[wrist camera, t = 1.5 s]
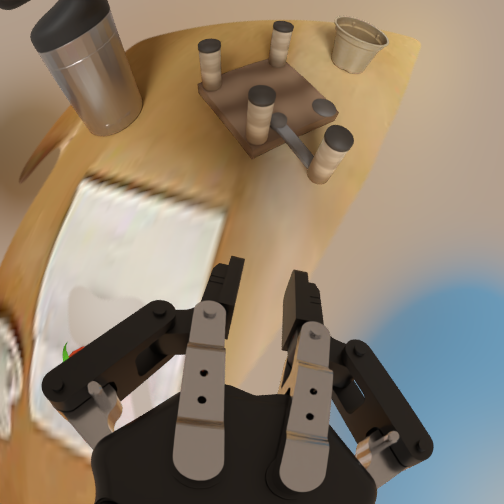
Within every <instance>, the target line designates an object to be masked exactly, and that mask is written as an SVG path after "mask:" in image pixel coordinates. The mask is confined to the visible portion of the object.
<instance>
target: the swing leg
mask: <svg viewBox="0 0 504 504" xmlns="http://www.w3.org/2000/svg"><path fill="white" fill-rule="evenodd" d="M286 123H287V117H286V115H284V114H283V113H279V112H276V113H273V114H272V117H271V122H270V128H271V129H273V130H275V131H277V132H278V134H279V135H280V136H281V137H282V138H283V140H284V141H285V142H286V143H287V144H288V146H289V147H290V148H291V149H292V150H293V152H294V153H295V154H296V155H297V157H298V158H299V159H300V160H301V162H302V163H303V164H304V165H305V167H306V168H307V169H308V170H307V175H308V178H309V179H310V180H311V181H312V182H313V183H315V184H324V183H326V182H327V181H328V179H329V178H330V176H331V175H332V174H333V172H334V171H335V169H336V168H337V166H338V165H339V163H340V162H341V160H342V159H343V157H344V156H345V155H346V153H347V152H348V150H349V149H350V148H351V147H352V145H353V143H354V138H353V136H352V134H351V133H350V131H349V130H347V129H346V128H344V127H342V126H339V125H332V126H330V127H328V129H327V130H326V132H325V135H324V138H323V140H322V142H321V144H320V146H319V148H318V150H317V152H316V154H315V156H313V155H312V153H311V152H310V151H309V150H308V149H307V147H306V146H305V145H304V144H303V143H302V141H301V140H300V139H299V138H298V137H297V136H296V134H295V133H294V132H293V131H292V130H291V129H290V128H289V126H288V125H287V124H286Z"/></svg>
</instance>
